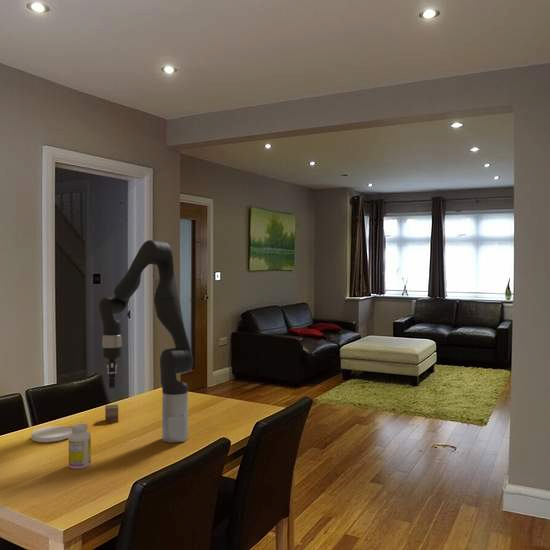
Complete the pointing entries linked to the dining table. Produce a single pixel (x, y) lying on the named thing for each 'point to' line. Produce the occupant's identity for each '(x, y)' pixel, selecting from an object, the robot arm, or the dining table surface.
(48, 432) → the plastic lid
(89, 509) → the dining table surface
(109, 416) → the walnut block
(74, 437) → the supplement bottle
